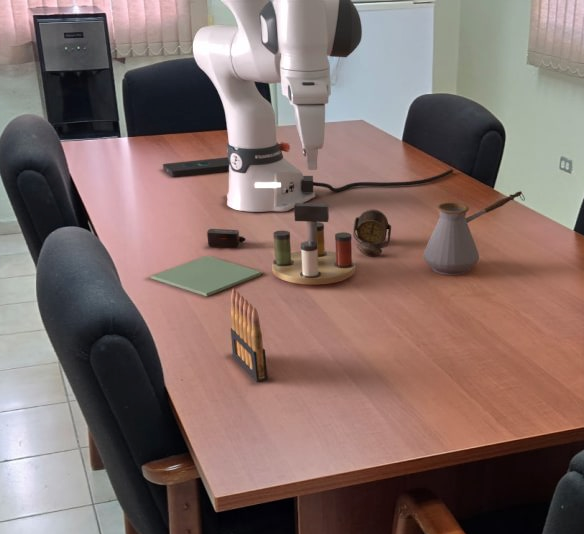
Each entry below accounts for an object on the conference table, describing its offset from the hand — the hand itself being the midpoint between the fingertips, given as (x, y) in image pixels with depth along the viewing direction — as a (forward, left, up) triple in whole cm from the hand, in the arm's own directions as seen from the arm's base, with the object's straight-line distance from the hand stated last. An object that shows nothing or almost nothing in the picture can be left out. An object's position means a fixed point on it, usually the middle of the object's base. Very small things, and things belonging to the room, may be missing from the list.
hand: (310, 162), depth 178 cm
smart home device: (-42, -73, -22) cm, 87 cm away
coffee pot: (-24, +23, -22) cm, 40 cm away
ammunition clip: (+39, +20, -22) cm, 49 cm away
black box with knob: (-2, -25, -22) cm, 34 cm away
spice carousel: (0, 0, -22) cm, 22 cm away
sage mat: (+14, -15, -22) cm, 30 cm away
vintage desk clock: (-20, -1, -22) cm, 30 cm away
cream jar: (+5, +3, -20) cm, 21 cm away
